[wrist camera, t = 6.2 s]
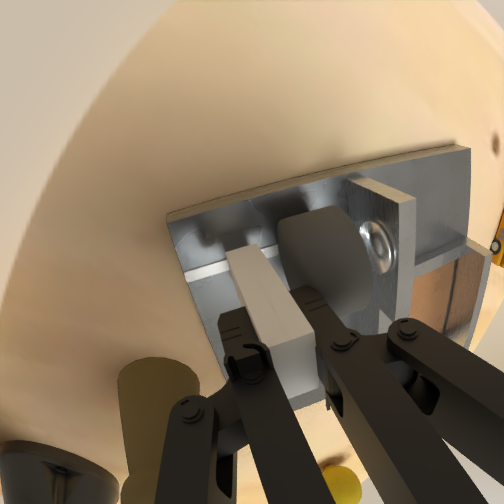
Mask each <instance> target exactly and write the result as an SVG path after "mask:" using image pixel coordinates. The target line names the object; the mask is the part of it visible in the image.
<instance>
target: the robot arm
mask: <svg viewBox="0 0 504 504" xmlns="http://www.w3.org/2000/svg"><path fill="white" fill-rule="evenodd" d="M225 253H226V257H227V260H228V264H229V267H230V271H231V274H232V278H233V281H234V285H235V288H236V292H237V295H238V299H239V302H240V304H241V307H240V308H237V309H234V310H231V311H228V312H224V313H221V314H220V316H219V319H218V322H217V325H218V329H219V333H220V337H221V341H222V345H223V349H224V352H225V356H224V363H223V364H224V367H225V369H226V371H227V374H228V376H229V378H228V381H227V383H226V384H225V385H224V386H223V388H222V389H220V390H219V391H218V392H216V393H215V394H213V395H211V396H210V397H208V398H206V397H204V396H200V395H191V396H187V397H184V398H183V399H181V400H179V401H178V402H177V403H176V404H175V405H174V406H173V407H172V410H171V412H170V415H169V420H168V425H167V431H166V436H165V442H164V447H163V453H162V458H161V464H160V470H159V476H158V482H157V488H156V495H155V501H154V504H236V496H237V451H238V450H240V449H241V448H243V447H244V446H246V445H248V444H249V445H250V449H251V452H252V455H253V458H254V461H255V464H256V468H257V471H258V474H259V477H260V480H261V483H262V486H263V489H264V492H265V495H266V498H267V501H268V504H336V502H335V500H334V498H333V496H332V494H331V492H330V490H329V488H328V486H327V483H326V481H325V479H324V477H323V475H322V473H321V471H320V468H319V466H318V464H317V462H316V460H315V458H314V456H313V453H312V451H311V449H310V447H309V445H308V442H307V440H306V438H305V436H304V434H303V431H302V429H301V427H300V425H299V423H298V420H297V418H296V416H295V414H294V411H293V409H292V407H291V405H290V403H289V400H288V399H290V398H293V397H295V396H298V395H301V394H304V393H306V392H309V391H311V390H314V389H317V388H319V387H320V380H321V382H322V384H323V386H324V387H325V398H326V407H327V411H328V410H330V406H331V408H332V410H333V411H334V413H335V415H336V417H337V419H338V421H339V422H340V424H341V426H342V428H343V430H344V431H345V433H346V435H347V437H348V439H349V441H350V442H351V444H352V446H353V448H354V450H355V451H356V453H357V455H358V457H359V459H360V460H361V462H362V464H363V466H364V468H365V469H366V471H367V473H368V475H369V477H370V478H371V480H372V482H373V484H374V485H375V487H376V489H377V491H378V493H379V495H380V496H381V498H382V500H383V502H384V504H488V502H487V501H486V499H485V498H484V497H483V495H482V494H481V492H480V491H479V489H478V488H477V487H476V485H475V484H474V482H473V481H472V480H471V478H470V477H469V475H468V474H467V472H466V471H465V470H464V468H463V467H462V466H461V464H460V463H459V461H458V460H457V459H456V457H455V456H454V455H453V453H452V452H451V450H450V449H449V448H448V446H447V445H446V444H445V442H444V441H443V440H442V438H443V439H444V440H445V441H446V442H448V443H449V444H450V445H451V446H453V447H454V448H455V449H457V450H458V451H459V452H460V453H461V454H463V455H464V456H465V457H467V458H468V459H469V460H470V461H472V462H473V463H474V464H476V465H477V466H478V467H479V468H481V469H482V470H483V471H485V472H486V473H487V474H489V475H490V476H491V477H492V478H494V479H495V480H496V481H498V482H499V483H500V484H502V485H503V486H504V373H503V372H502V371H500V370H499V369H497V368H496V367H494V366H492V365H491V364H489V363H487V362H486V361H484V360H483V359H481V358H480V357H478V356H477V355H475V354H473V353H472V352H470V351H469V350H467V349H465V348H464V347H462V346H461V345H459V344H457V343H456V342H454V341H452V340H451V339H449V338H448V337H446V336H444V335H443V334H441V333H439V332H438V331H436V330H435V329H433V328H431V327H430V326H428V325H426V324H425V323H423V322H421V321H419V320H417V319H414V318H401V319H398V320H396V321H394V322H392V324H391V325H390V326H389V328H388V332H387V333H382V334H376V335H361V334H360V333H359V332H357V331H356V330H353V329H350V328H347V327H346V326H345V325H344V324H343V322H342V321H341V320H340V319H339V317H338V316H337V315H336V314H335V312H334V311H333V310H332V308H331V307H330V306H329V305H328V303H327V302H326V301H325V300H324V299H323V297H322V296H321V295H320V293H319V292H318V291H317V290H316V289H314V288H312V287H310V286H308V285H305V286H302V287H299V288H296V289H293V290H290V291H288V290H287V288H286V287H285V285H284V284H283V282H282V281H281V279H280V278H279V276H278V275H277V273H276V272H275V270H274V269H273V267H272V265H271V264H270V262H269V261H268V259H267V258H266V256H265V255H264V253H263V252H262V250H261V249H260V247H259V246H258V244H257V243H255V244H251V245H248V246H245V247H241V248H238V249H235V250H232V251H228V252H225ZM0 477H1V486H2V493H3V499H4V504H116V503H117V502H118V500H119V483H118V481H117V479H116V478H115V477H114V476H113V475H112V474H111V473H109V472H108V471H107V470H105V469H104V468H102V467H100V466H99V465H97V464H95V463H93V462H91V461H89V460H87V459H85V458H83V457H80V456H78V455H75V454H73V453H70V452H67V451H64V450H62V449H58V448H55V447H52V446H48V445H44V444H40V443H35V442H30V441H21V440H14V441H7V442H5V443H3V444H2V445H1V446H0Z"/></svg>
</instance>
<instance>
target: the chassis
mask: <svg viewBox="0 0 504 504" xmlns="http://www.w3.org/2000/svg"><path fill="white" fill-rule="evenodd" d="M470 186H471V148H468V147H464V146H460V145H449V146H443V147H438V148H432V149H426V150H421V151H415V152H410V153H405V154H400V155H394V156H389V157H385V158H380V159H375V160H370V161H365V162H361V163H356V164H352V165H347V166H343V167H338V168H334V169H329V170H325V171H321V172H317V173H313V174H308V175H304V176H300V177H296V178H292V179H288V180H284V181H280V182H276V183H273V184H269V185H265V186H261V187H257V188H254V189H250V190H246V191H243V192H239V193H235V194H232V195H228V196H225V197H221V198H218V199H214V200H211V201H207V202H204V203H201V204H197V205H194V206H191V207H187V208H184V209H181V210H178V211H174V212H171V213H168V214H167V226H168V229H169V232H170V235H171V238H172V241H173V244H174V247H175V250H176V253H177V255H178V258H179V261H180V264H181V267H182V270H183V273H184V276H185V278H186V281H187V283H188V286H189V289H190V291H191V294H192V297H193V299H194V302H195V305H196V307H197V310H198V312H199V315H200V318H201V320H202V323H203V325H204V328H205V330H206V333H207V335H208V338H209V340H210V343H211V345H212V348H213V350H214V352H215V355H216V357H217V360H218V362H219V364H220V367H221V369H222V371H223V374H224V376H225V378H226V381H228V378H229V376H228V374H227V371H226V369H225V367H224V364H223V363H224V356H225V352H224V349H223V345H222V341H221V337H220V333H219V329H218V325H217V322H218V319H219V316H220V314H221V313H224V312H228V311H231V310H234V309H237V308H240V307H241V304H240V302H239V299H238V295H237V292H236V288H235V285H234V281H233V278H232V274H231V271H230V267H229V264H228V260H227V257H226V253H225V252H228V251H232V250H235V249H238V248H241V247H245V246H248V245H251V244H255V243H257V244H258V246H259V247H260V249H261V250H262V252H263V253H264V255H265V256H266V258H267V259H268V261H269V262H270V264H271V265H272V267H273V269H274V270H275V272H276V273H277V275H278V276H279V278H280V279H281V281H282V282H283V284H284V285H285V287H286V288H287V290H288V291H290V288H289V285H288V282H287V279H286V276H285V273H284V269H283V266H282V262H281V258H280V253H279V248H278V241H277V225H278V222H279V221H280V220H281V219H284V218H288V217H291V216H295V215H298V214H302V213H305V212H309V211H313V210H316V209H320V208H323V207H327V206H331V205H334V206H337V207H339V208H341V209H342V210H343V211H344V212H346V213H347V214H348V216H349V217H350V218H351V219H352V221H353V222H354V224H355V225H356V227H357V229H358V231H359V232H360V234H361V237H362V239H363V241H364V244H365V246H366V249H367V252H368V255H369V259H370V263H371V269H372V276H373V292H372V297H371V301H370V303H369V305H368V306H367V307H366V308H364V309H362V310H359V311H357V312H354V313H352V314H349V315H347V316H344V317H342V318H339V319H340V320H341V321H342V322H343V324H344V325H345V326H346V327H347V328H350V329H353V330H356V331H357V332H359V333H360V334H361V335H376V334H382V333H387V332H388V328H389V326H390V325H391V324H392V322H394V321H396V320H398V319H401V318H414V319H417V320H419V321H421V322H423V323H425V324H426V325H428V326H430V327H431V328H433V329H435V330H436V331H438V332H439V333H441V334H443V335H444V336H446V337H448V338H449V339H451V340H452V341H454V342H456V343H457V344H459V345H461V346H462V347H464V348H465V349H467V350H468V349H469V346H470V343H471V340H472V337H473V333H474V330H475V327H476V323H477V320H478V316H479V313H480V309H481V305H482V301H483V297H484V293H485V289H486V285H487V280H488V275H489V271H490V265H491V260H492V254H493V252H491V251H490V250H488V249H486V248H485V247H483V246H481V245H480V244H478V243H476V242H475V241H473V240H471V239H469V238H468V237H467V232H468V221H469V207H470ZM324 399H326V398H325V387H324V386H323V384H322V382H321V380H320V387H319V388H317V389H314V390H311V391H309V392H306V393H304V394H301V395H298V396H295V397H293V398H290V399H288V400H289V403H290V405H291V407H292V409H293V411H295V410H298V409H301V408H303V407H306V406H309V405H311V404H314V403H316V402H319V401H321V400H324Z"/></svg>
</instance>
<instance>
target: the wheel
mask: <svg viewBox="0 0 504 504" xmlns="http://www.w3.org/2000/svg"><path fill="white" fill-rule="evenodd" d="M277 241H278V248H279V253H280V258H281V262H282V266H283V269H284V273H285V276H286V279H287V282H288V285H289V288H290V290H293V289H296V288H299V287H302V286H305V285H308V286H310V287H312V288H314V289H316V290H317V291H318V292H319V293H320V295H321V296H322V297H323V299H324V300H325V301H326V302H327V303H328V305H329V306H330V307H331V308H332V310H333V311H334V312H335V314H336V315H337V316H338V317H339V318H342V317H344V316H347V315H349V314H352V313H354V312H357V311H359V310H362V309H364V308H366V307H367V306H368V305H369V303H370V301H371V297H372V292H373V276H372V269H371V263H370V259H369V255H368V252H367V249H366V246H365V244H364V241H363V239H362V237H361V234H360V232H359V231H358V229H357V227H356V225H355V224H354V222H353V221H352V219H351V218H350V217H349V216H348V214H347V213H346V212H344V211H343V210H342V209H341V208H339V207H337V206H334V205H331V206H327V207H323V208H320V209H316V210H313V211H309V212H305V213H302V214H298V215H295V216H291V217H288V218H284V219H281V220H280V221H279V222H278V225H277Z"/></svg>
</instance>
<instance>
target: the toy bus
mask: <svg viewBox="0 0 504 504" xmlns="http://www.w3.org/2000/svg"><path fill="white" fill-rule="evenodd" d="M490 251H491V252H493V254H492V260H491V262H493V263H494V264H496V265H497V266H501V267H503V268H504V212H503V216H502V219H501V222H500V225H499V228H498V231H497V234H496V239H495V240H493V241H492V244H491V247H490Z"/></svg>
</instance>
